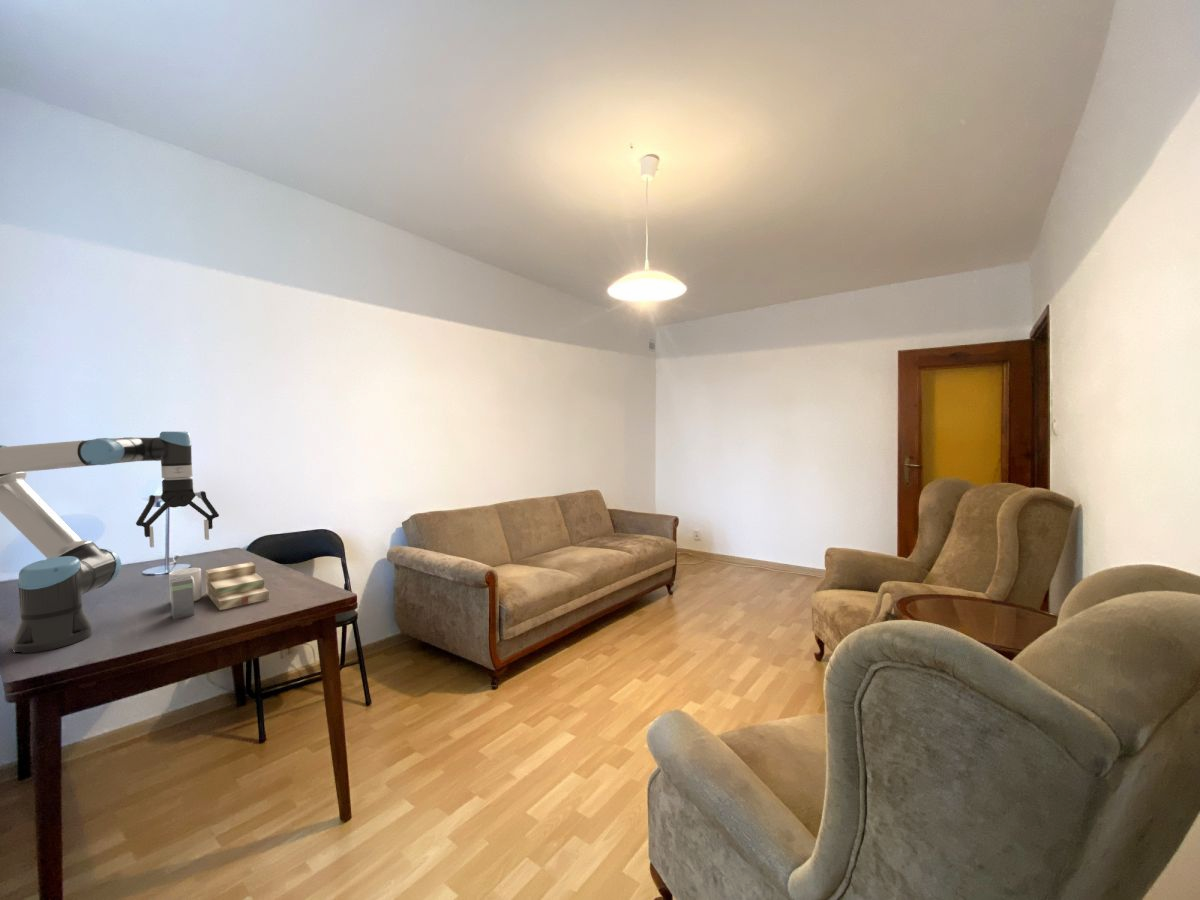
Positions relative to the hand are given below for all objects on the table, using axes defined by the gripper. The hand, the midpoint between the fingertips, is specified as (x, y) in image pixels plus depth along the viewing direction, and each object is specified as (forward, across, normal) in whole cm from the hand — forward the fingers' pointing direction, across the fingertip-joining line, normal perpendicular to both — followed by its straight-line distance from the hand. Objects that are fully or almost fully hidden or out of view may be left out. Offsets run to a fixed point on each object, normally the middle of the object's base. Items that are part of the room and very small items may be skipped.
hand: (180, 542), depth 156 cm
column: (+24, 0, 0) cm, 24 cm away
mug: (+24, +3, +15) cm, 29 cm away
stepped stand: (+24, +16, +8) cm, 30 cm away
